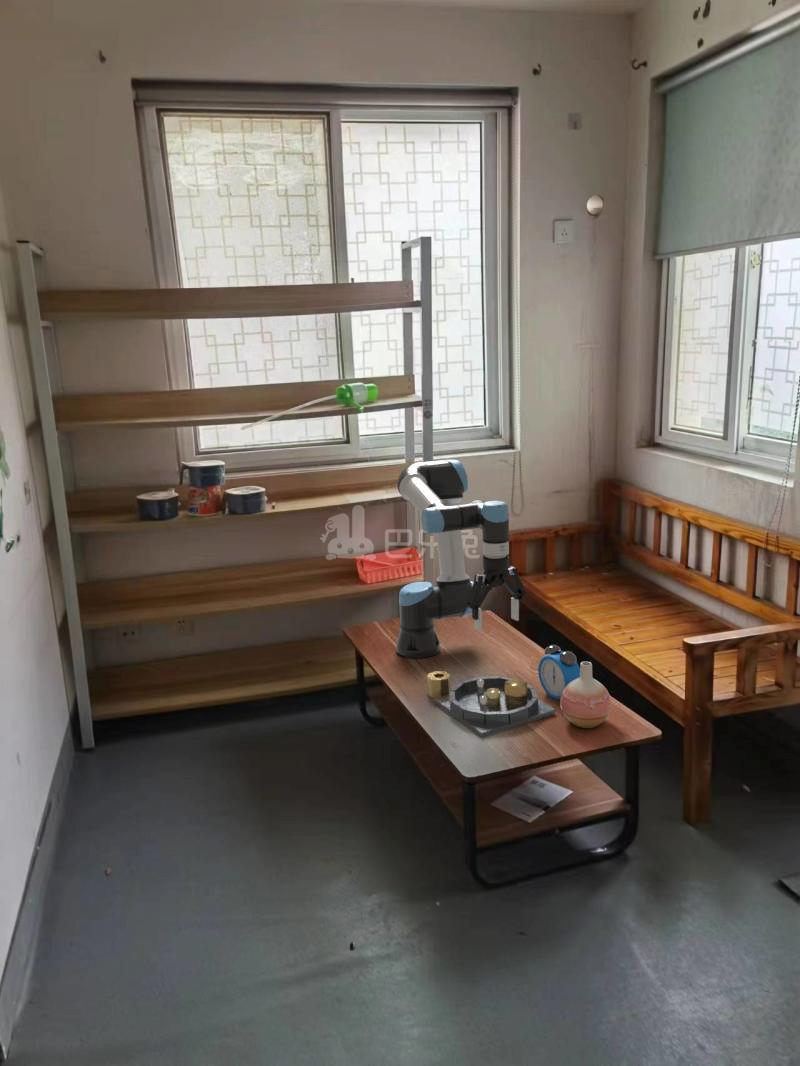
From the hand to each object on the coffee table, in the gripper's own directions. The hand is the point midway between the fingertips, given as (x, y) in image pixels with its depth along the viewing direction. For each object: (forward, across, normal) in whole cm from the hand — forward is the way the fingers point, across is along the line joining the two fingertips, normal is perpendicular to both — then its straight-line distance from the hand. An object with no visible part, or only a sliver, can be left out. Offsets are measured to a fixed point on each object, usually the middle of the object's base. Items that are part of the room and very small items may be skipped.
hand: (496, 624), depth 236 cm
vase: (+22, +8, -30) cm, 38 cm away
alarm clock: (+22, +13, -13) cm, 29 cm away
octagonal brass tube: (+22, -15, +9) cm, 28 cm away
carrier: (+22, -8, -8) cm, 24 cm away
